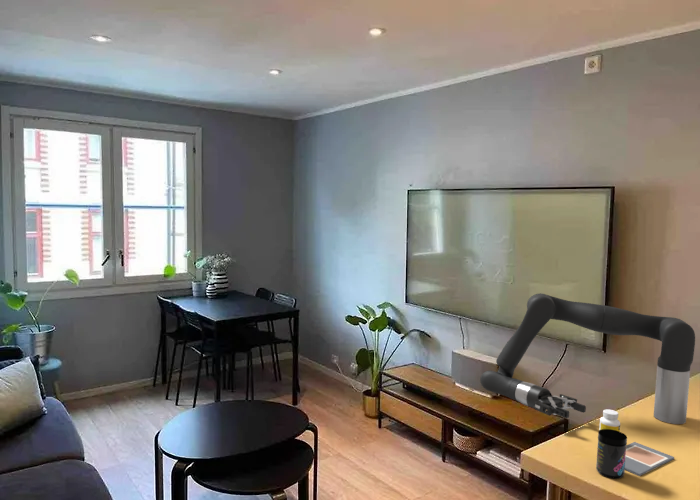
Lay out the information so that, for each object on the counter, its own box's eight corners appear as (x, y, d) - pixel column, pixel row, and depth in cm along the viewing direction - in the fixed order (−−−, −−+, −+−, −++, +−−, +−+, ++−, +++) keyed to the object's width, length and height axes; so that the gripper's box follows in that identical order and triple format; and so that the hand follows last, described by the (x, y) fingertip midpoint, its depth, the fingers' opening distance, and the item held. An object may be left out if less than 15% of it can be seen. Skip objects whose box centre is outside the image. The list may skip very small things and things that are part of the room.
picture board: (634, 443, 156) (634, 441, 156) (674, 459, 147) (674, 456, 147) (599, 458, 146) (599, 456, 146) (639, 476, 137) (639, 473, 137)
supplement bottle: (621, 449, 152) (623, 416, 152) (600, 447, 154) (603, 414, 153) (615, 441, 158) (617, 409, 157) (596, 439, 159) (598, 407, 158)
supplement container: (610, 481, 134) (613, 441, 133) (589, 468, 141) (592, 430, 140) (630, 477, 137) (633, 438, 136) (609, 465, 143) (612, 427, 142)
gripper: (519, 388, 173) (563, 404, 160) (546, 381, 181) (591, 396, 168) (518, 410, 174) (562, 428, 160) (545, 402, 182) (589, 419, 168)
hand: (576, 412), depth 164 cm, fingers open, 8 cm apart
